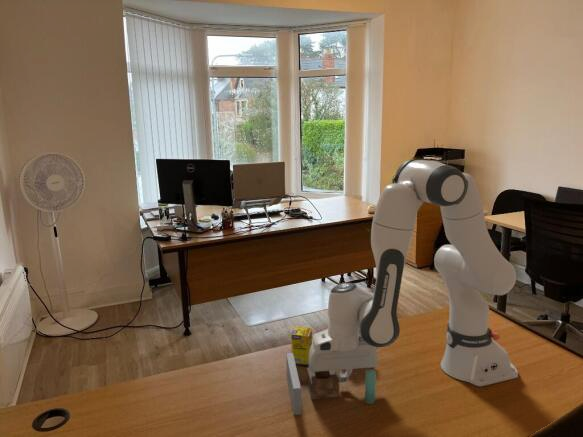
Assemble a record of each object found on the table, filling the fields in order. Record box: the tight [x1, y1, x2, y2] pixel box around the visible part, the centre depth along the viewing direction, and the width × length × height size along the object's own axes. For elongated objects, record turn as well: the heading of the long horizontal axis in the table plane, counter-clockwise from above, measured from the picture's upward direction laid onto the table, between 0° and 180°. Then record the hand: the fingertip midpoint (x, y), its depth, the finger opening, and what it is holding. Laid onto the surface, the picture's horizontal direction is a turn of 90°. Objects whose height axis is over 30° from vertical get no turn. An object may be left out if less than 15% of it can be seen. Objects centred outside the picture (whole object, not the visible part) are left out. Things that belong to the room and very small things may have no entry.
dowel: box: [364, 368, 377, 405], centre depth 121 cm, size 3×3×9 cm
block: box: [306, 367, 340, 400], centre depth 127 cm, size 8×8×5 cm
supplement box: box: [290, 326, 313, 368], centre depth 141 cm, size 6×6×11 cm
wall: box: [285, 352, 302, 416], centre depth 125 cm, size 2×18×8 cm, turn 7°
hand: (342, 381), depth 128 cm, fingers closed
